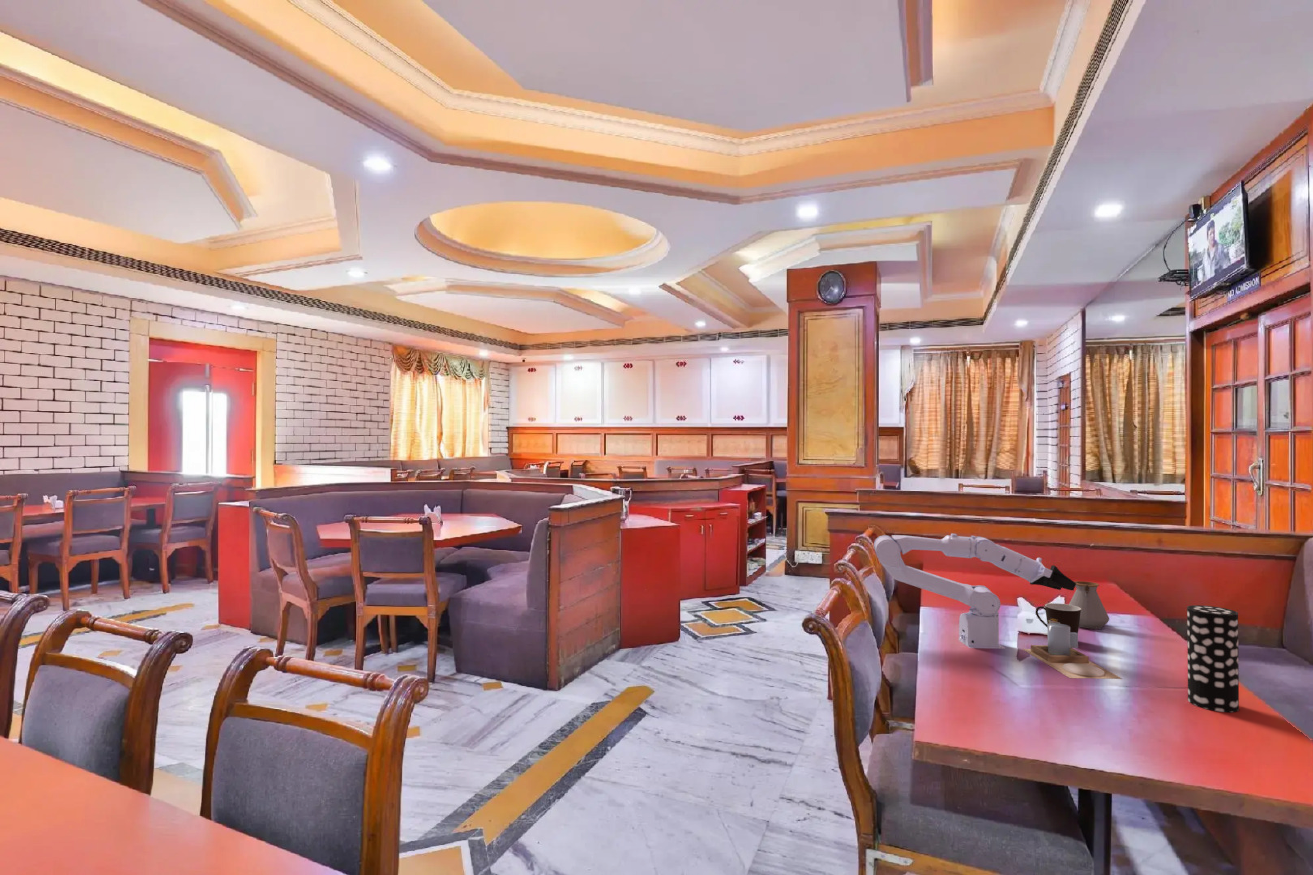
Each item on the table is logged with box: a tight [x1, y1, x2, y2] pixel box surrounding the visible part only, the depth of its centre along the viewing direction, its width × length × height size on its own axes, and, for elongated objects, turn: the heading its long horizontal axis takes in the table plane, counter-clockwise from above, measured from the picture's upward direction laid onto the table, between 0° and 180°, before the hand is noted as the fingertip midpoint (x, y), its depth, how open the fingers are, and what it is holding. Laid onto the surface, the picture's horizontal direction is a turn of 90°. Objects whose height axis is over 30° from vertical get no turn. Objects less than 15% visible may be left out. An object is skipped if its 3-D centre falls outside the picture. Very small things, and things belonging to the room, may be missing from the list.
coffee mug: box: [1035, 602, 1081, 634], centre depth 187 cm, size 12×9×10 cm
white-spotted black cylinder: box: [1186, 604, 1240, 713], centre depth 142 cm, size 8×8×20 cm
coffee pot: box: [1068, 580, 1110, 630], centre depth 199 cm, size 21×12×15 cm, turn 148°
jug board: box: [1022, 644, 1123, 680], centre depth 167 cm, size 12×22×2 cm, turn 178°
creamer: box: [1046, 623, 1079, 655], centre depth 171 cm, size 7×5×8 cm
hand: (1067, 586), depth 178 cm, fingers open, 7 cm apart
